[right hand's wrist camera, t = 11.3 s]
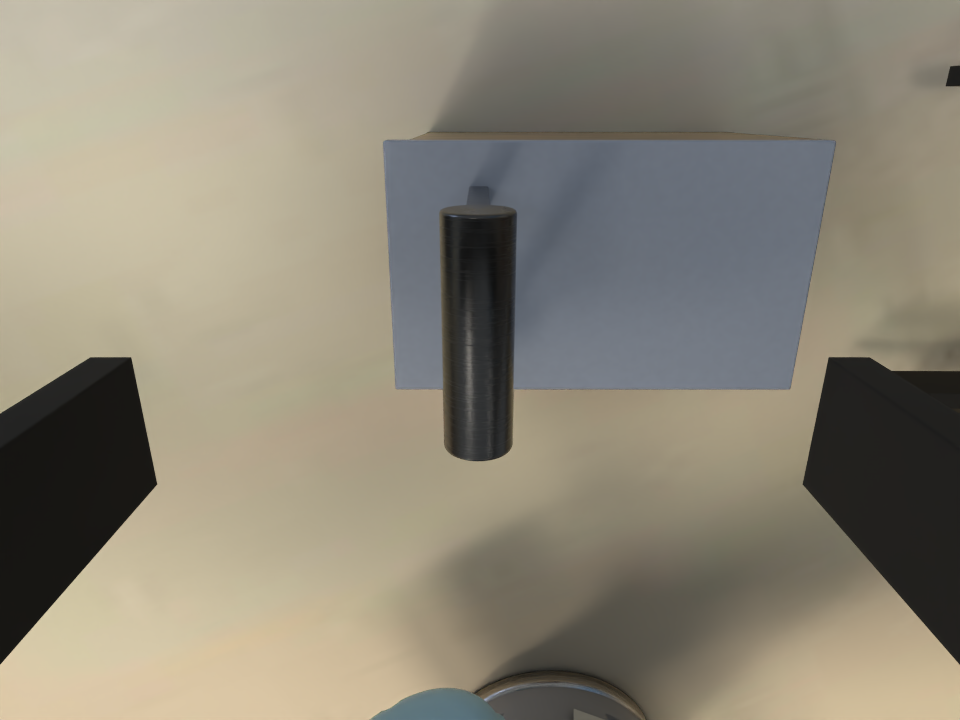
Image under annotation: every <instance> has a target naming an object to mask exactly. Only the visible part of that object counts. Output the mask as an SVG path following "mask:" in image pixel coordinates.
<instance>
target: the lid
mask: <svg viewBox="0 0 960 720" xmlns="http://www.w3.org/2000/svg"><path fill="white" fill-rule="evenodd" d="M835 145H836V141H834V140H385V141H384V142H383V149H384V169H385V189H386V208H387V228H388V248H389V268H390V287H391V307H392V327H393V347H394V366H395V386H396V389H443V411H444V445H445V448H446V450H447V451H448V452H449V453H450V454H451V455H453V456H455V457H457V458H460V459H464V460H469V461H487V460H493V459H496V458H499V457H502V456H503V455H505V454H507V453H508V452H509V451H510V449H511V447H512V441H513V391H514V389H790V387H791V382H792V377H793V371H794V366H795V360H796V355H797V350H798V344H799V339H800V334H801V328H802V323H803V317H804V312H805V307H806V301H807V296H808V291H809V285H810V280H811V274H812V269H813V264H814V258H815V253H816V248H817V242H818V237H819V231H820V226H821V221H822V215H823V210H824V205H825V199H826V194H827V188H828V183H829V178H830V172H831V167H832V162H833V156H834V151H835Z"/></svg>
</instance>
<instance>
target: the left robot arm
mask: <svg viewBox="0 0 960 720" xmlns="http://www.w3.org/2000/svg"><path fill="white" fill-rule="evenodd" d="M946 86H960V66H951V67H950V71H949V75H948V79H947V83H946ZM892 372H894V373H895V374H897V375H898V376H900V377H902V378H903V379H905V380H906V381H908V382H910V383H911V384H913V385H914V386H916V387H918V388H919V389H921V390H922V391H924V392H926V393H927V394H929V395H930V396H932V397H934V398H935V399H937V400H938V401H940V402H942V403H943V404H945V405H946V406H948V407H950V408H951V409H953V410H954V411H956V412H958V413H959V414H960V371H892ZM370 720H646V718H645V716H644V714H643V713H642V711H641V710H640V708H639V707H638V706H637V705H636V703H635V702H634V701H633V700H632V699H631V698H629V697H628V696H627V695H626V694H625V693H623V692H622V691H621V690H619V689H617V688H616V687H614V686H612V685H610V684H608V683H606V682H604V681H602V680H599V679H596V678H594V677H590V676H587V675H583V674H578V673H573V672H564V671H539V672H530V673H524V674H519V675H515V676H512V677H508V678H505V679H503V680H500V681H498V682H495V683H493V684H491V685H489V686H487V687H485V688H484V689H482V690H480V691H479V692H477V693H476V694H473V693H471V692H468V691H465V690H461V689H455V688H439V689H432V690H427V691H423V692H420V693H417V694H414V695H411V696H409V697H407V698H405V699H403V700H401V701H400V702H398V703H397V704H396V705H394V706H393V707H391V708H390V709H388V710H385V711H381V712H380V713H378V714H377V715H376V716H374V717H373V718H371V719H370Z"/></svg>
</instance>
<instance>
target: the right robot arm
mask: <svg viewBox="0 0 960 720" xmlns="http://www.w3.org/2000/svg"><path fill="white" fill-rule="evenodd" d="M156 485H157V481H156V476H155V471H154V466H153V461H152V457H151V452H150V447H149V442H148V437H147V432H146V427H145V422H144V418H143V413H142V408H141V403H140V398H139V393H138V388H137V383H136V379H135V374H134V369H133V364H132V359H131V357H90V358H89V359H87V360H86V361H84V362H82V363H81V364H79V365H78V366H76V367H74V368H73V369H71V370H70V371H68V372H66V373H65V374H63V375H62V376H60V377H58V378H57V379H55V380H54V381H52V382H50V383H49V384H47V385H46V386H44V387H42V388H41V389H39V390H38V391H36V392H34V393H33V394H31V395H30V396H28V397H26V398H25V399H23V400H22V401H20V402H18V403H17V404H15V405H14V406H12V407H10V408H9V409H7V410H6V411H4V412H2V413H1V414H0V664H1V663H2V662H3V661H4V660H5V658H6V657H7V656H8V655H9V654H10V653H11V652H12V650H13V649H14V648H15V647H16V646H17V645H18V644H19V642H20V641H21V640H22V639H23V638H24V637H25V635H26V634H27V633H28V632H29V631H30V630H31V629H32V627H33V626H34V625H35V624H36V623H37V622H38V621H39V619H40V618H41V617H42V616H43V615H44V614H45V613H46V611H47V610H48V609H49V608H50V607H51V606H52V605H53V603H54V602H55V601H56V600H57V599H58V598H59V596H60V595H61V594H62V593H63V592H64V591H65V590H66V588H67V587H68V586H69V585H70V584H71V583H72V582H73V580H74V579H75V578H76V577H77V576H78V575H79V574H80V572H81V571H82V570H83V569H84V568H85V567H86V565H87V564H88V563H89V562H90V561H91V560H92V559H93V557H94V556H95V555H96V554H97V553H98V552H99V551H100V549H101V548H102V547H103V546H104V545H105V544H106V543H107V541H108V540H109V539H110V538H111V537H112V536H113V535H114V533H115V532H116V531H117V530H118V529H119V528H120V526H121V525H122V524H123V523H124V522H125V521H126V520H127V518H128V517H129V516H130V515H131V514H132V513H133V512H134V510H135V509H136V508H137V507H138V506H139V505H140V504H141V502H142V501H143V500H144V499H145V498H146V497H147V496H148V494H149V493H150V492H151V491H152V490H153V489H154V487H155V486H156ZM803 485H804V486H805V487H806V489H807V490H808V491H809V492H810V493H811V494H812V496H813V497H814V498H815V499H816V500H817V501H818V502H819V504H820V505H821V506H822V507H823V508H824V509H825V510H826V512H827V513H828V514H829V515H830V516H831V517H832V518H833V520H834V521H835V522H836V523H837V524H838V525H839V526H840V528H841V529H842V530H843V531H844V532H845V533H846V535H847V536H848V537H849V538H850V539H851V540H852V541H853V543H854V544H855V545H856V546H857V547H858V548H859V549H860V551H861V552H862V553H863V554H864V555H865V556H866V557H867V559H868V560H869V561H870V562H871V563H872V564H873V566H874V567H875V568H876V569H877V570H878V571H879V572H880V574H881V575H882V576H883V577H884V578H885V579H886V580H887V582H888V583H889V584H890V585H891V586H892V587H893V588H894V590H895V591H896V592H897V593H898V594H899V595H900V596H901V598H902V599H903V600H904V601H905V602H906V603H907V605H908V606H909V607H910V608H911V609H912V610H913V611H914V613H915V614H916V615H917V616H918V617H919V618H920V619H921V621H922V622H923V623H924V624H925V625H926V626H927V627H928V629H929V630H930V631H931V632H932V633H933V634H934V635H935V637H936V638H937V639H938V640H939V641H940V642H941V644H942V645H943V646H944V647H945V648H946V649H947V650H948V652H949V653H950V654H951V655H952V656H953V657H954V658H955V660H956V661H957V662H958V663H959V664H960V414H959V413H958V412H956V411H954V410H953V409H951V408H950V407H948V406H946V405H945V404H943V403H942V402H940V401H938V400H937V399H935V398H934V397H932V396H930V395H929V394H927V393H926V392H924V391H922V390H921V389H919V388H918V387H916V386H914V385H913V384H911V383H910V382H908V381H906V380H905V379H903V378H902V377H900V376H898V375H897V374H895V373H894V372H892V371H890V370H889V369H887V368H886V367H884V366H882V365H881V364H879V363H878V362H876V361H874V360H873V359H871V358H870V357H829V359H828V364H827V369H826V374H825V379H824V383H823V388H822V393H821V398H820V403H819V408H818V413H817V418H816V422H815V427H814V432H813V437H812V442H811V447H810V452H809V457H808V461H807V466H806V471H805V476H804V481H803Z"/></svg>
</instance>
